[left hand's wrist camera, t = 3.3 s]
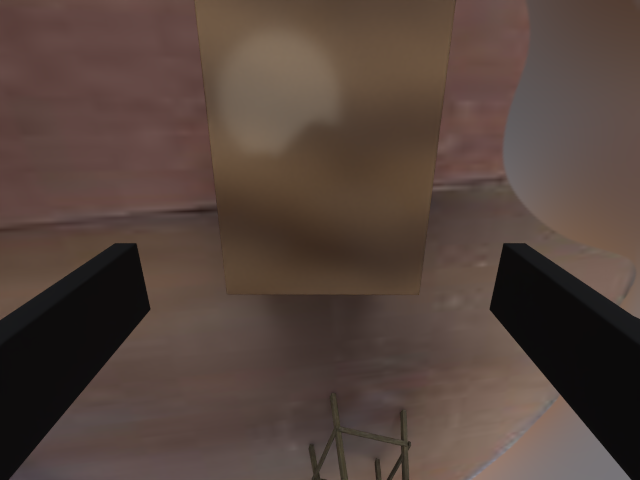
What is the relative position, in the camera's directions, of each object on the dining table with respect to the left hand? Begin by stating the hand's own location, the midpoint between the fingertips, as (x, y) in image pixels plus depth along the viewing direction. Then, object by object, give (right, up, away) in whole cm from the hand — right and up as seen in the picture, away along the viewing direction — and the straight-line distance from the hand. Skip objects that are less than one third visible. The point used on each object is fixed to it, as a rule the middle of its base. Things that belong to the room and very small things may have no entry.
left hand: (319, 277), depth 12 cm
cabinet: (0, +11, +13) cm, 17 cm away
